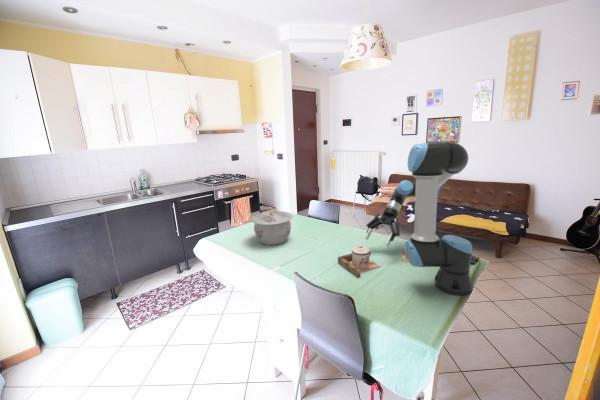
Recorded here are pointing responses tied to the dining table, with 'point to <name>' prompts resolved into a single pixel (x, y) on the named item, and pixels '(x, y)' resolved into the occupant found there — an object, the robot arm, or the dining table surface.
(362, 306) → the dining table surface
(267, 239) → the chamber pot
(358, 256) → the teacup with lid
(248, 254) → the dining table surface
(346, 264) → the low wooden tray
